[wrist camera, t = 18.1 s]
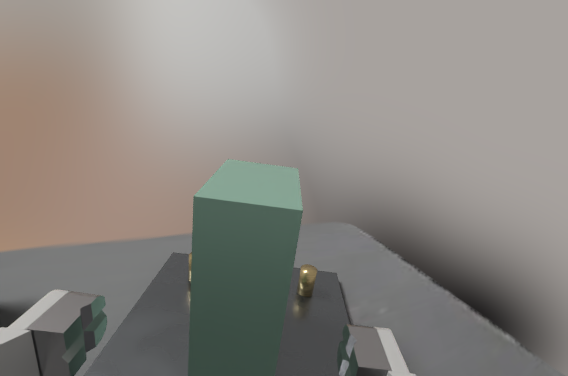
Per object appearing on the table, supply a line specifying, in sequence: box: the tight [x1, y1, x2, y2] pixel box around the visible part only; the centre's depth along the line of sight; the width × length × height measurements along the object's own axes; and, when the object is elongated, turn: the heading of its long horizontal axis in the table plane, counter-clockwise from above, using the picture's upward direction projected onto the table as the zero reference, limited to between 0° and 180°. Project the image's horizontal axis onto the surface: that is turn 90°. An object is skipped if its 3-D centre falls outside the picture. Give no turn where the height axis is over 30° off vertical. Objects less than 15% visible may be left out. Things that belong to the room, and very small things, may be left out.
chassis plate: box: [84, 252, 350, 376], centre depth 16 cm, size 14×16×3 cm
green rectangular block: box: [188, 159, 303, 376], centre depth 15 cm, size 4×6×10 cm, turn 179°
